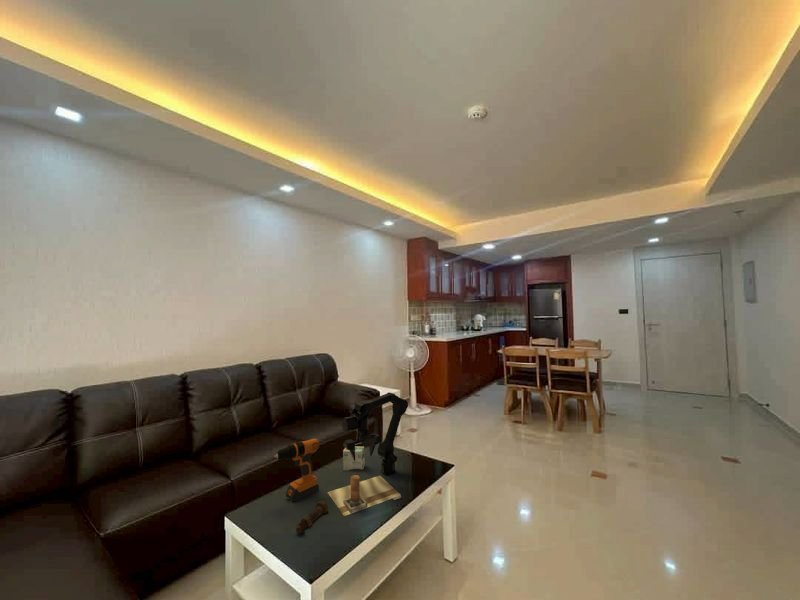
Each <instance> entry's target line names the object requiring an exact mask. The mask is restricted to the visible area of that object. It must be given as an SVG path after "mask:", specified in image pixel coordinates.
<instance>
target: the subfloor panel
mask: <svg viewBox="0 0 800 600" xmlns="http://www.w3.org/2000/svg"><path fill="white" fill-rule="evenodd" d="M327 494H328V495H329V497H330V498H331V500H332V501H333V503H334V504H335V506H336V507H337V508H338V509H339V511H340V512H341V514H342V515H343V517H345V516H348V515H351V514H354V513H357V512H359V511H363V510H366V509H367V508H370V507H373V506H376V505H378V504H382V503H383V502H387V501H390V500H392V499H393V500H394V501H396V500H398V499H401V498H402V495H401V493H400V492H399V491H397V490H396V489H395V488H394V487H393V486H392V485H390V483H389V482H387V480H386V479H384V478H383V477H382V476H381V475H377V476H374V477H371V478H368V479H366V480H365V479H364V480H361V481H360V505H358V506H355V507H351V506H350V499H351V484H349V485H346V486H343V487H340V488H337V489H334V490H331V491H328V492H327Z"/></svg>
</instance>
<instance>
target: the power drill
mask: <svg viewBox="0 0 800 600" xmlns="http://www.w3.org/2000/svg"><path fill="white" fill-rule="evenodd" d="M319 447H320V441H319V439H317V438H310V439H308V440H307V439H306V440H304V441H299V442H295V443H292V444H290V445H287V446H285V447H283V448H281V449H278V450H277V452H276V454H275V455H274V456H273V457H274V458H276V459H277V460H279V461H283V460H284V461H285V460H288V459H290V460H292V461H293V462H295V463H294V466H297V467H300V469H299V470H300V473H301V478H298V479H296V480H294V481H292V482H290V483H289V485H288V486H287V489H286V492H285V497H286V498H287V499H288V500H290V501H291V502H296V501H298V500H300V499H303V498H305V497H307V496H310V495H312V494H314V493H315V492H316V493H317V492H319V490H320V486H319V484H318V478H317V476H316V475H314V474H313V463H312V460H311V456H312V455H313V454H316V452H317V450H319Z"/></svg>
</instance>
